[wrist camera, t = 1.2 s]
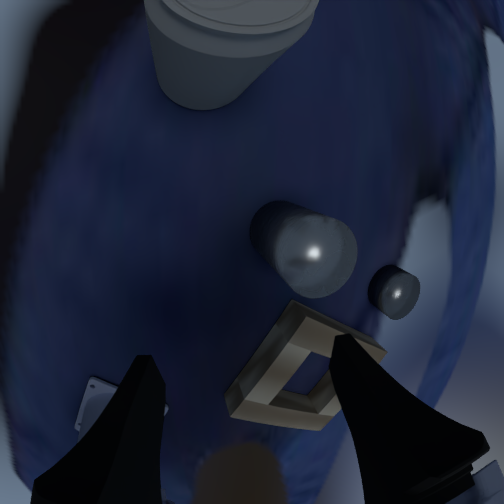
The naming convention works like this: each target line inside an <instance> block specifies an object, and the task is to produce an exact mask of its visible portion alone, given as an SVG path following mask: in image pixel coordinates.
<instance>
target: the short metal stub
mask: <svg viewBox="0 0 504 504" xmlns="http://www.w3.org/2000/svg"><path fill="white" fill-rule="evenodd" d="M419 294H420V282H419V280H418V279H417V277H415V276H414V275H412V274H410V273H408V272H406V271H404V270H403V269H401V268H399V267H397V266H395V265H386V266H384V267H382V268H380V269H379V270H378V271H377V272H376V273H375V275H374V276H373V277H372V279H371V281H370V284H369V287H368V299H369V301H370V303H371V304H372V305H373V306H375V307H376V308H377V309H379V310H380V311H381V312H383V313H384V314H385V315H386V316H388V317H389V318H390V319H393V320H398V319H401V318H403V317H405V316H406V315H407V314H408V313H409V312H410V311H411V310H412V309H413V307H414V306H415V304H416V302H417V300H418V297H419Z"/></svg>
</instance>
